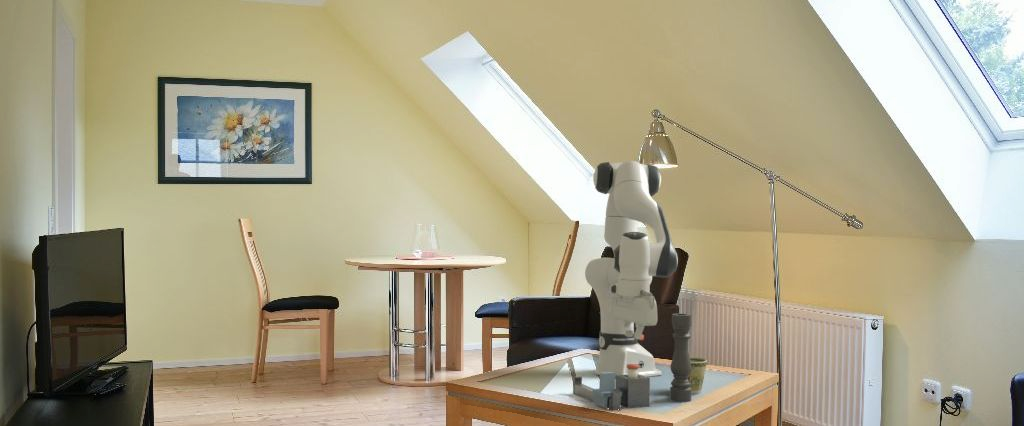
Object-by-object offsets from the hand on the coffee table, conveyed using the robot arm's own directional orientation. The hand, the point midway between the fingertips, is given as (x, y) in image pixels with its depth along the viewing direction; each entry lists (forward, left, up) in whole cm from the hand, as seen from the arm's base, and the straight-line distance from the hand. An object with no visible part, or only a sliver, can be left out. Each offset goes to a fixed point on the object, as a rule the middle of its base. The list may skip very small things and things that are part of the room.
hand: (633, 337), depth 253 cm
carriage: (+8, 0, -19) cm, 21 cm away
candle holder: (-17, -1, -19) cm, 26 cm away
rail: (+8, -7, -19) cm, 22 cm away
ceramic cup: (-27, -10, -19) cm, 35 cm away
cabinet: (0, 0, -19) cm, 19 cm away
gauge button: (0, 0, -14) cm, 14 cm away
